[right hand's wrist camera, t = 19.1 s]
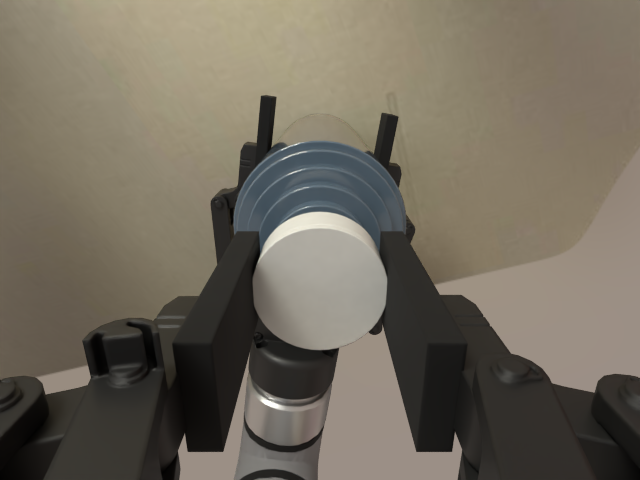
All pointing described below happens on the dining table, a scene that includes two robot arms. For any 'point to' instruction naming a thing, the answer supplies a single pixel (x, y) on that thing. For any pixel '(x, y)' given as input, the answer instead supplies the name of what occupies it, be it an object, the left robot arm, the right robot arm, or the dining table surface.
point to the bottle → (319, 181)
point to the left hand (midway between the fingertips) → (329, 105)
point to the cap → (319, 281)
